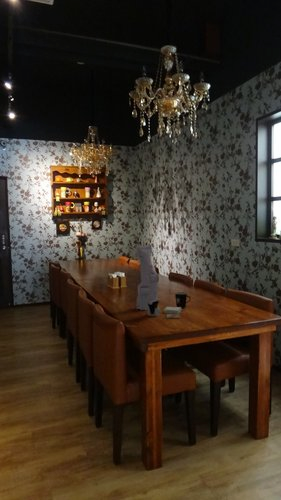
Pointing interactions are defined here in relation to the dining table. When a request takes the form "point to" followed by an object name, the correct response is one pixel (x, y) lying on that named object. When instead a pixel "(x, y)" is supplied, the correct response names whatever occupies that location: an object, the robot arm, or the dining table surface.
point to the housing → (154, 312)
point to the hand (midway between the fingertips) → (153, 313)
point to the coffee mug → (181, 299)
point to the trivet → (172, 316)
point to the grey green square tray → (172, 310)
